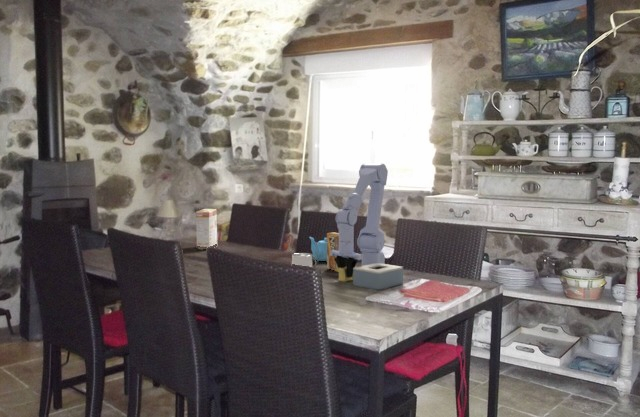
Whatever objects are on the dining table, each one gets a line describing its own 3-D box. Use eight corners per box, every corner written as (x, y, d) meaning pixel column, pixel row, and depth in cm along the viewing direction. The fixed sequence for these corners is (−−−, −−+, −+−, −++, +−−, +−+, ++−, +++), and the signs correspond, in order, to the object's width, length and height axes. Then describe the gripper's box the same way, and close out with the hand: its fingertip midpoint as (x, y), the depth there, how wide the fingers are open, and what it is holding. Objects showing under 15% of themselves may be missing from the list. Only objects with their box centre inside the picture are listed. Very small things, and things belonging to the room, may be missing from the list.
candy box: (347, 271, 252) (347, 234, 250) (338, 272, 249) (338, 235, 248) (334, 268, 259) (334, 232, 258) (326, 269, 257) (326, 232, 255)
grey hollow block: (377, 279, 235) (377, 262, 235) (402, 284, 227) (402, 266, 226) (353, 285, 225) (353, 267, 225) (378, 290, 217) (379, 272, 216)
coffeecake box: (204, 245, 322) (203, 208, 320) (217, 245, 321) (217, 208, 319) (196, 250, 307) (195, 211, 305) (209, 250, 306) (209, 211, 304)
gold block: (347, 278, 237) (347, 265, 237) (353, 279, 235) (353, 266, 235) (338, 280, 234) (338, 267, 233) (344, 281, 232) (344, 268, 231)
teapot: (340, 257, 286) (340, 235, 285) (346, 262, 271) (346, 239, 270) (309, 258, 284) (308, 236, 283) (313, 263, 269) (313, 240, 268)
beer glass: (291, 297, 207) (291, 253, 206) (312, 296, 208) (311, 252, 206) (292, 302, 200) (291, 256, 199) (313, 301, 201) (313, 256, 200)
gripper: (325, 240, 235) (325, 275, 237) (353, 244, 225) (353, 280, 227) (337, 238, 240) (337, 272, 242) (366, 242, 230) (365, 277, 232)
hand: (346, 276), depth 234 cm, fingers closed on gold block, 3 cm apart
